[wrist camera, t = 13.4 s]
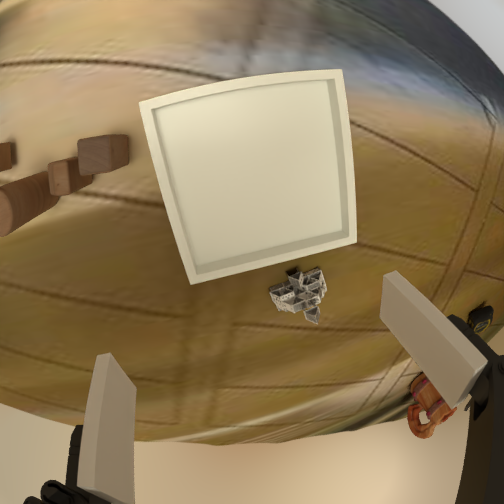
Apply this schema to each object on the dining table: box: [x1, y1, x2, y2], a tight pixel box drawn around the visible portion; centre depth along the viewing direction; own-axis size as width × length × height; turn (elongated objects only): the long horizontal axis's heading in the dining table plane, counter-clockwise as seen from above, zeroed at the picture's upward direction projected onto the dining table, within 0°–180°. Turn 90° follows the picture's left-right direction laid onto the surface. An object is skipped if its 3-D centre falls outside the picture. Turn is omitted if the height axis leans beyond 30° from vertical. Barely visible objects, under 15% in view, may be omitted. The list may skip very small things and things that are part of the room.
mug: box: [407, 373, 457, 439], centre depth 55 cm, size 15×8×15 cm, turn 155°
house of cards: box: [270, 267, 327, 324], centre depth 35 cm, size 9×9×8 cm
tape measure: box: [468, 306, 494, 334], centre depth 52 cm, size 7×7×4 cm
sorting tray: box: [139, 69, 357, 285], centre depth 30 cm, size 20×20×3 cm
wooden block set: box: [0, 135, 129, 237], centre depth 21 cm, size 18×9×10 cm, turn 89°
